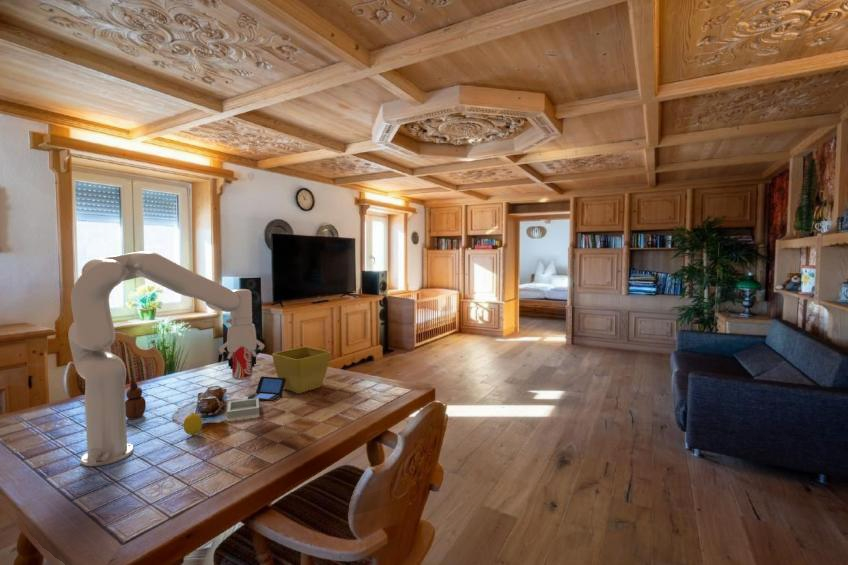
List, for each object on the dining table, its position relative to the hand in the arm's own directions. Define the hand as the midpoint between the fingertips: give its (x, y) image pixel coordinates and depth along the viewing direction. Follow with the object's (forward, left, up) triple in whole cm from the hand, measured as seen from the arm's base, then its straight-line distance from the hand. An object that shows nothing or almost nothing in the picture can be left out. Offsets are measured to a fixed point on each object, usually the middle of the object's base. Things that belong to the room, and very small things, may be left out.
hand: (242, 366), depth 155 cm
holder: (0, 0, -18) cm, 18 cm away
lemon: (-15, +16, -19) cm, 28 cm away
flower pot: (+22, -24, -19) cm, 38 cm away
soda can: (0, 0, -5) cm, 5 cm away
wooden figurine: (+11, +38, -19) cm, 43 cm away
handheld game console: (+16, -9, -19) cm, 27 cm away
